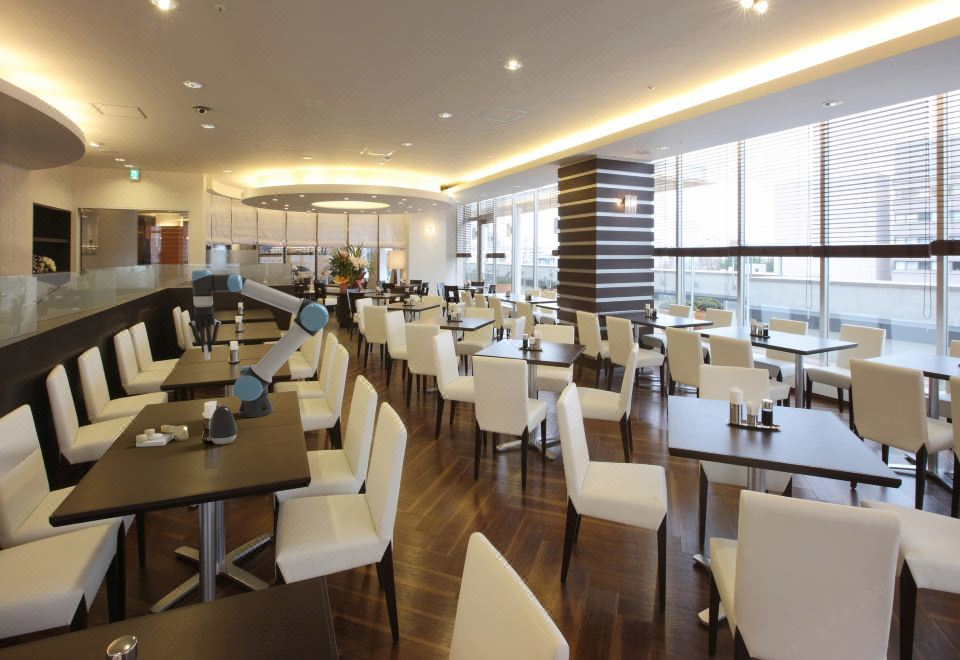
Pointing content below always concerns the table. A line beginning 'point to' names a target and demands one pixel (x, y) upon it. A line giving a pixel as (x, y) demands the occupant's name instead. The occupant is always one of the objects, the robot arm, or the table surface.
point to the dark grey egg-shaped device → (222, 426)
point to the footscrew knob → (177, 431)
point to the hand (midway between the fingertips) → (207, 359)
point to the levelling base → (152, 438)
